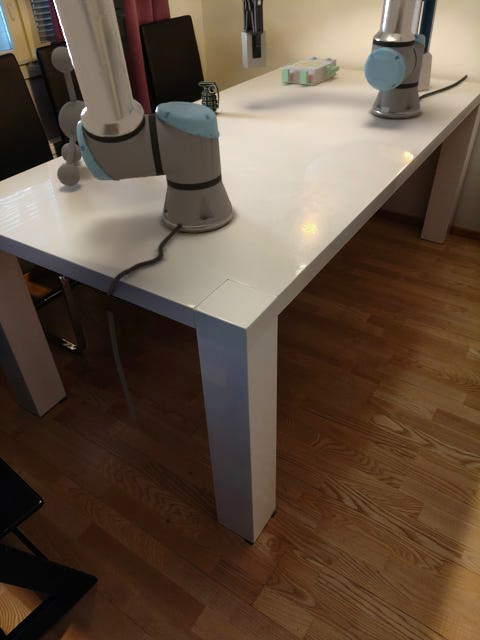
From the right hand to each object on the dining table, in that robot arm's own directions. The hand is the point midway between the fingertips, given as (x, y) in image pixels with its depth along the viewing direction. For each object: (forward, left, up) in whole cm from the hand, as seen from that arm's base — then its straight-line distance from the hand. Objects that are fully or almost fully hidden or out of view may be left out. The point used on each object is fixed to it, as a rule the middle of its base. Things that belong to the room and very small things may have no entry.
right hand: (254, 56), depth 164 cm
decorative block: (-48, +2, -17) cm, 51 cm away
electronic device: (-41, +45, -17) cm, 63 cm away
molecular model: (+67, -15, -17) cm, 71 cm away
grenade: (+9, -13, -17) cm, 23 cm away
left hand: (+62, -5, +12) cm, 64 cm away
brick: (0, 0, -3) cm, 3 cm away
